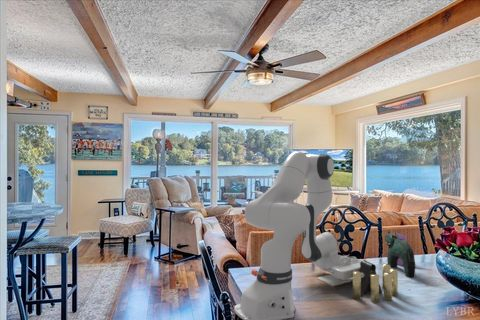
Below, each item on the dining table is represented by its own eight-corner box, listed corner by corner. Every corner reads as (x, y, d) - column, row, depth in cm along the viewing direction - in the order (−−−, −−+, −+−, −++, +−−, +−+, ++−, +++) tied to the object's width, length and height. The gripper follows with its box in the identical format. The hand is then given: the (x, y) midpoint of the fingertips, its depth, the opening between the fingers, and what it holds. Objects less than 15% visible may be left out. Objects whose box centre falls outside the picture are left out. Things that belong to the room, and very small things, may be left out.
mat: (333, 286, 137) (333, 284, 137) (316, 278, 145) (316, 277, 145) (358, 279, 145) (358, 278, 145) (340, 272, 153) (340, 271, 154)
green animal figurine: (383, 264, 167) (383, 226, 167) (395, 264, 167) (395, 226, 167) (406, 278, 147) (406, 235, 147) (419, 278, 147) (419, 234, 148)
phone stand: (363, 295, 127) (363, 265, 127) (354, 289, 133) (354, 261, 133) (382, 293, 130) (382, 263, 130) (371, 287, 136) (372, 259, 136)
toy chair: (393, 264, 167) (393, 236, 167) (389, 259, 175) (389, 232, 176) (410, 265, 165) (410, 237, 165) (405, 260, 174) (405, 233, 174)
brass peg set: (373, 307, 117) (373, 280, 117) (351, 297, 125) (351, 272, 125) (407, 294, 128) (407, 269, 128) (385, 286, 137) (385, 263, 137)
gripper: (324, 262, 138) (351, 272, 126) (355, 255, 149) (382, 263, 137) (324, 277, 138) (351, 288, 126) (355, 269, 149) (382, 278, 137)
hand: (367, 275), depth 132 cm, fingers open, 2 cm apart
